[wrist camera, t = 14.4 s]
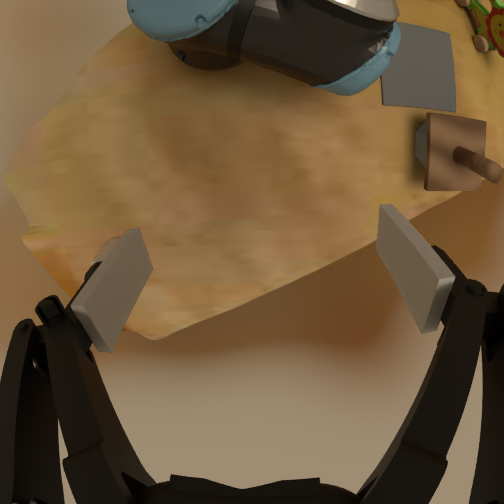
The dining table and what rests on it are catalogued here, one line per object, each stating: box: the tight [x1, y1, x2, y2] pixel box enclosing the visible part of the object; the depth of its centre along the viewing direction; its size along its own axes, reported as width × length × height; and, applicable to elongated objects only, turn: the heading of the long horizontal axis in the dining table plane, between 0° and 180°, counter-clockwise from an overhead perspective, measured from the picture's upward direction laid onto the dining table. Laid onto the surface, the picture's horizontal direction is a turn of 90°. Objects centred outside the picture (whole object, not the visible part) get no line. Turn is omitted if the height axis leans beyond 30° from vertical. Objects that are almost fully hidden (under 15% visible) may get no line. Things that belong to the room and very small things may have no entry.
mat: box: [381, 22, 456, 112], centre depth 35 cm, size 16×16×1 cm
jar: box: [84, 237, 122, 281], centre depth 52 cm, size 9×8×12 cm
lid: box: [424, 113, 502, 191], centre depth 33 cm, size 13×13×11 cm
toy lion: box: [456, 0, 504, 58], centre depth 21 cm, size 16×6×15 cm, turn 26°
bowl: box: [415, 119, 427, 169], centre depth 40 cm, size 11×11×6 cm
